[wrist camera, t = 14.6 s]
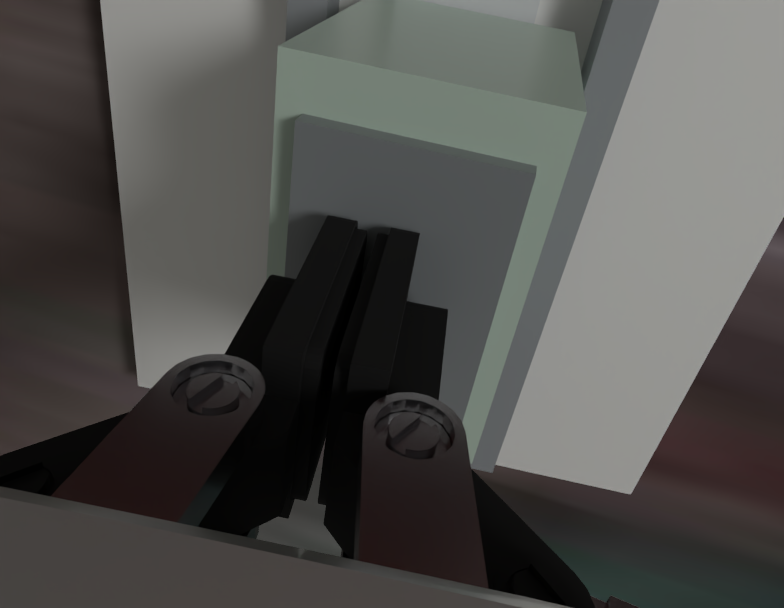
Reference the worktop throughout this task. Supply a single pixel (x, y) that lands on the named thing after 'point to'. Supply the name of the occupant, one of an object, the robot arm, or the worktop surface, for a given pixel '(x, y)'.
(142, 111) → the rail plate
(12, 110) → the worktop surface
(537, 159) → the block
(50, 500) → the robot arm
